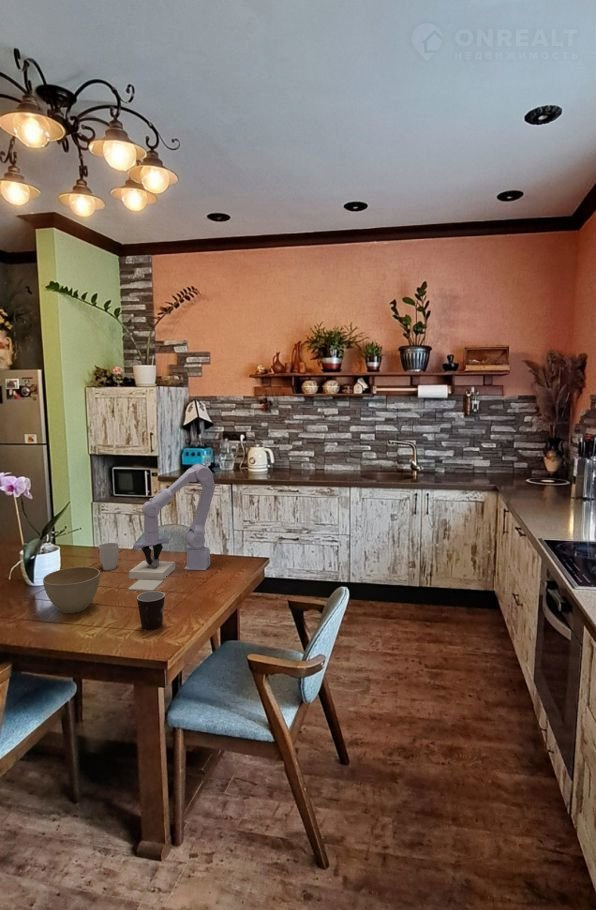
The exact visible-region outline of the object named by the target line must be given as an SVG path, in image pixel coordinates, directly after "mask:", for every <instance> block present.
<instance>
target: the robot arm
mask: <svg viewBox="0 0 596 910" xmlns="http://www.w3.org/2000/svg"><path fill="white" fill-rule="evenodd" d="M213 474H214V473H213V472H212V471H211V469H210V468H209V467H208V466H206V465H202V463H194V464H193V465H191V467H189V468H188V469H186V471H185V472H184V473H183V474H182V475H180V477H178V479H176V480H175V481H174V482H173V483H172V484H171V485H170V486H169V487H168V488H163V489H159V490H158V493H157V494H155V496H153V497H150V498H149V500H148V501H146V502H144V503H143V505H142V507H141V511H142V513H143V535H144V536H143V538H144V540H143V541H140V542H137V543H133V549H134V550H139V549H141V550H142V552H143V554H144V556H145V561H146V560H147V563H148V564H151V555H152V550H153V556H154V557H156V558H158V559H159V558H160V555H161V552H162V550H163V549H164V547H163V546H164V545H165V544H170V538H168V537H165V538H160V532H159V531H160V530H159V516H158V515H159V514H160V512H161V511H160V510H162V509H164V507H165V506H167V505H168V504H169V503H170V502H171V501H172V500H173V499H174V494H176V493H177V492H178V491H180V490H181V489H182V488H183V487H185V486H186V485H187V484H189V483H195V482H198V484H199V485H200V486H201V492H200V494H199V499H198V502H197V506H196V509H195V514H194V517H193V521H192V523H191V524H190V526H189V528H188V530H187V531H186V532H185V534H184V539H185V542H187V545H186V565H185V567H184V568H183V570H187V571H192V570H193V571H206V570H207V569H208V568H209V567H210V566H211V565H212V564H211V552H210V551H211V549H210V547H207V546H205V542H206V538H205V537H206V536H205V535H206V529H205V528H206V522H207V518H208V516H209V515H208V514H209V511H210V507H211V503H212V500H213V497H214V493H215V489H216V483H215V480H214V476H213ZM151 547H152V549H151ZM159 560H160V559H159Z"/></svg>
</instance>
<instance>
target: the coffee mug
mask: <svg viewBox="0 0 596 910" xmlns="http://www.w3.org/2000/svg"><path fill="white" fill-rule="evenodd" d="M165 595H166V594H165V593H164V592H163V591H157V590H154V591H144V592H142V593H140V594H138V595H137V597H136V600H137V608H138V613H139V618H140V619H139V620H140V625H141V629H142V630H144V631H156V630H159V629H161V628H162V627H161V626H163V619H164V608H165V597H166V596H165ZM158 628H159V629H158ZM155 629H156V630H155Z"/></svg>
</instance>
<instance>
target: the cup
mask: <svg viewBox="0 0 596 910" xmlns="http://www.w3.org/2000/svg"><path fill="white" fill-rule="evenodd" d="M97 547H98V549H97V550H98V556H99V560H100V565H101V568H102V570H103V571H112V569H113V570H115V569H116V568H117V564H118V558H119V543H117V542H106V543H101V544H99V545H98V546H97Z"/></svg>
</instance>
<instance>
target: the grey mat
mask: <svg viewBox="0 0 596 910" xmlns="http://www.w3.org/2000/svg"><path fill="white" fill-rule="evenodd" d="M163 583H164V580H147V579H137V581H136V582H134V583H133V584H132V585H130V587H128V588H127V590H128V591H133V590H136V591H138V592H150V591H156V590H157V589H158V588H159V587H160V586H161V585H162V584H163ZM157 587H158V588H157Z"/></svg>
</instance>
